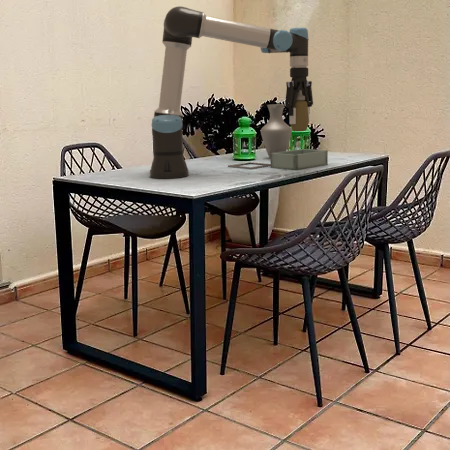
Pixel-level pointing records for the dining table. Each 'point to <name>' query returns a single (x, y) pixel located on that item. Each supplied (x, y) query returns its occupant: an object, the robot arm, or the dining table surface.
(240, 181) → the dining table surface
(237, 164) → the brown flat square frame
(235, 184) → the dining table surface
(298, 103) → the squeeze bottle
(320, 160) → the bin
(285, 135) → the vase
